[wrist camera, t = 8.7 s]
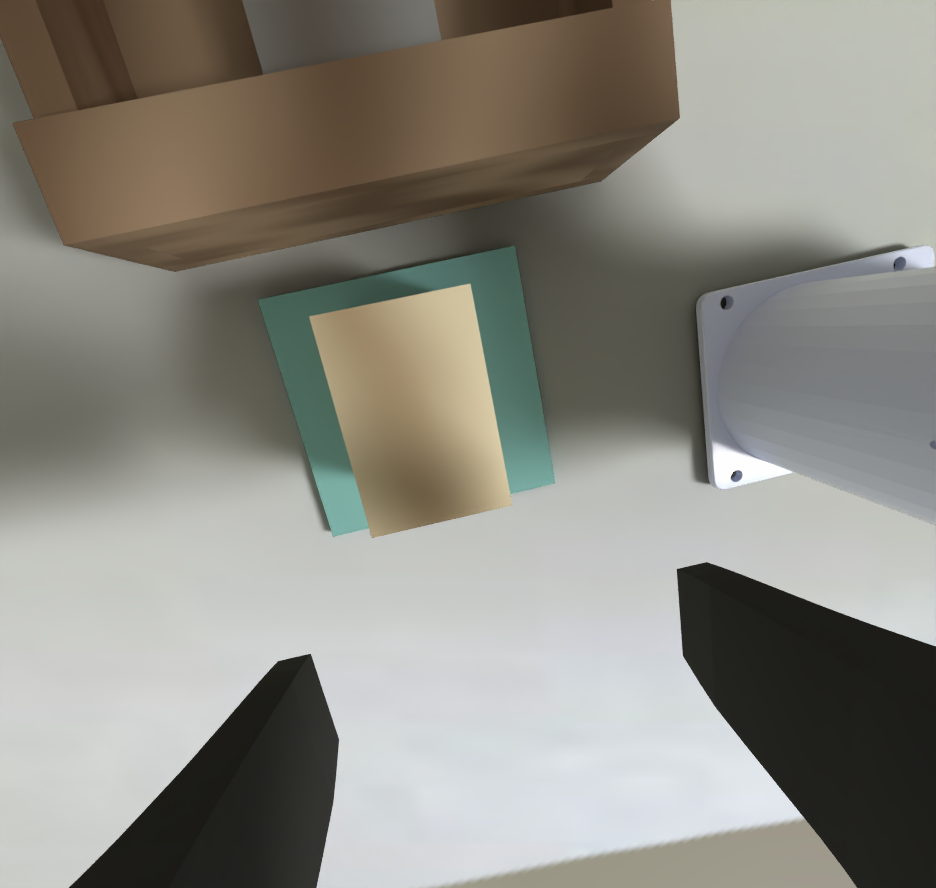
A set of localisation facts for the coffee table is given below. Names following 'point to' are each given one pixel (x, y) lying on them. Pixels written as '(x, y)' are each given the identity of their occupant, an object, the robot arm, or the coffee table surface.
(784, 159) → the coffee table surface
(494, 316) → the teal mat
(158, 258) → the slotted box
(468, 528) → the coffee table surface
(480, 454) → the maple block
